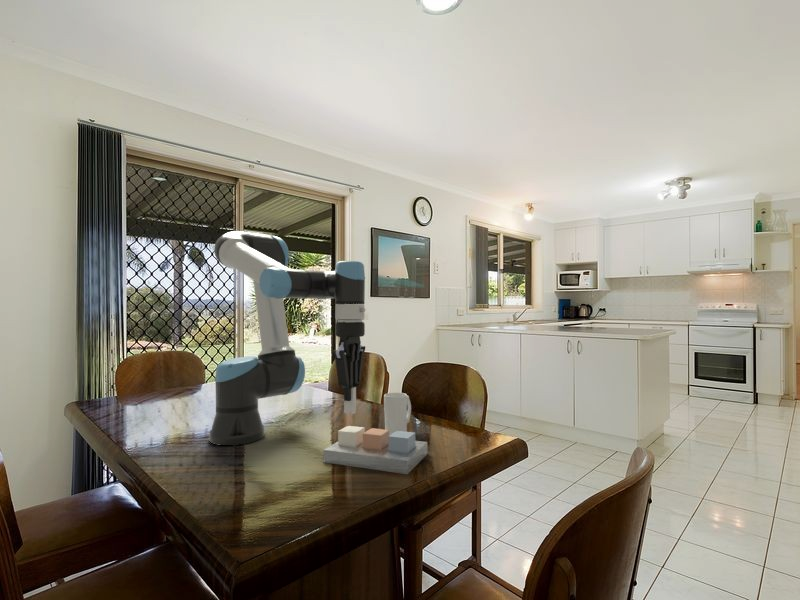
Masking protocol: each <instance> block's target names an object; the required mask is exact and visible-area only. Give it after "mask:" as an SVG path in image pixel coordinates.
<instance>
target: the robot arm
mask: <svg viewBox="0 0 800 600" xmlns="http://www.w3.org/2000/svg"><path fill="white" fill-rule="evenodd" d="M213 251H214V252H213V253H214V256H215V258H216V260H217V261H218V262H219V263H220V264H221V265H223V266H224V267H225V268H228V269H231V270H237V271H239V272H240V273H242V274H243V275H245V276H247V277H248V278H250V279H251V280H253V287H254V295H255V302H256V309H257V318H258V327H259V337H260V345H261V351H259V353H258V355H257V356H255V355H249V356H248V355H247V356H243V357H242V356H239V357H234V358H230V359H227V360H223V361H222V362H220V363H218V364H217V366H216V369H215V377H214V381H215V415H214V419H213V422H212V426H211V430H210V432H209V434H208V442H209V441H210V442H212V443H215V444H220V445H233V446H240V445H239V444H241V445H246V443H247V444H250V443H254V442H257V441H260V439H263V438H264V437H265V426H264V424H263V422H262V418H261V414H260V410H259V399H265V398H272V397H277V396H285V395H288V394H292V393H296V392H297V391H299V389H300V388H301V387H302V386H303V383H304V380H305V377H306V376H305V375H306V367H305V363H304V361H303V359H302V358H301V357H300V356H298V355H296V350H295V349H294V348H293V347H291V346H290V341H289V333H288V326H287V321H286V320H287V319H286V310H285V305H284V299H315V300H316V299H317V300H331V299H335V310H334V311H335V313H334V317H335V320H336V323H335V331H334V332H335V337H338V338H339V341H338V348H337V349H334V350H333V351H332V354H333V356H334V360H335V368H336V375H337V383H338V387H339V388H340V389H341V388H342V389H343V413H344V414H352V415H354V414H356V413H357V387H361V382H362V372H363V366H364V365H363V363H364V356H365V351H366V346H365V345H362V344H361V338H362V337H364V336H365V332H366V330H365V322H364V321H363V320H365V312H366V308H365V299H366V297H365V290H366V289H365V288H366V287H365V286H366V281H365V280H366V276H365V265H364V263H363V262H361V261H357V260H340V261H338V262H336V263H335V269H334V270H329V271H328V270H327V271H326V270H325V271H324V270H323V271H322V270H309V269H297V268H290V267H288V264H289V259H290V252H289V248H288V245H287V243H286V242H285V241H284V239H282V238H281V237H278V236H275V235H272V234H263V233H255V232H248V231H240V230H233V231H228V232H226V233H224V234H222V235H221V236H219V238H217V240H216V241H215V244H214V248H213ZM210 442H209V443H210Z"/></svg>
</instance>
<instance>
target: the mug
mask: <svg viewBox="0 0 800 600" xmlns="http://www.w3.org/2000/svg"><path fill="white" fill-rule="evenodd" d="M383 409H384V429H385V430H389V436H390V435H391V434H393V433H394V432H395V431H405V432H408V423H410V418H411V413H412V404H411V400H410V396H409V395H407V393H404V392H388V393H385V394H384V395H383Z"/></svg>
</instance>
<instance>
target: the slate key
mask: <svg viewBox="0 0 800 600" xmlns="http://www.w3.org/2000/svg"><path fill="white" fill-rule="evenodd" d="M415 441H416V432H415V431H414V432H413V431H407V432H405V431H395V432H394V433H393V434H391V435H390V436H389V452H397V453H405V454H409V453H411V452H412V451H413V450H414V449H415V448H416V443H415Z"/></svg>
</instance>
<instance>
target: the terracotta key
mask: <svg viewBox="0 0 800 600" xmlns="http://www.w3.org/2000/svg"><path fill="white" fill-rule="evenodd" d="M387 446H389V430H385V428H384V429H382V428H374V427H371V428H370V429H368V430H365V432H364V433H363V448H365V449H373V450H381V451H382V450H383V449H385V448H386V447H387Z"/></svg>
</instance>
